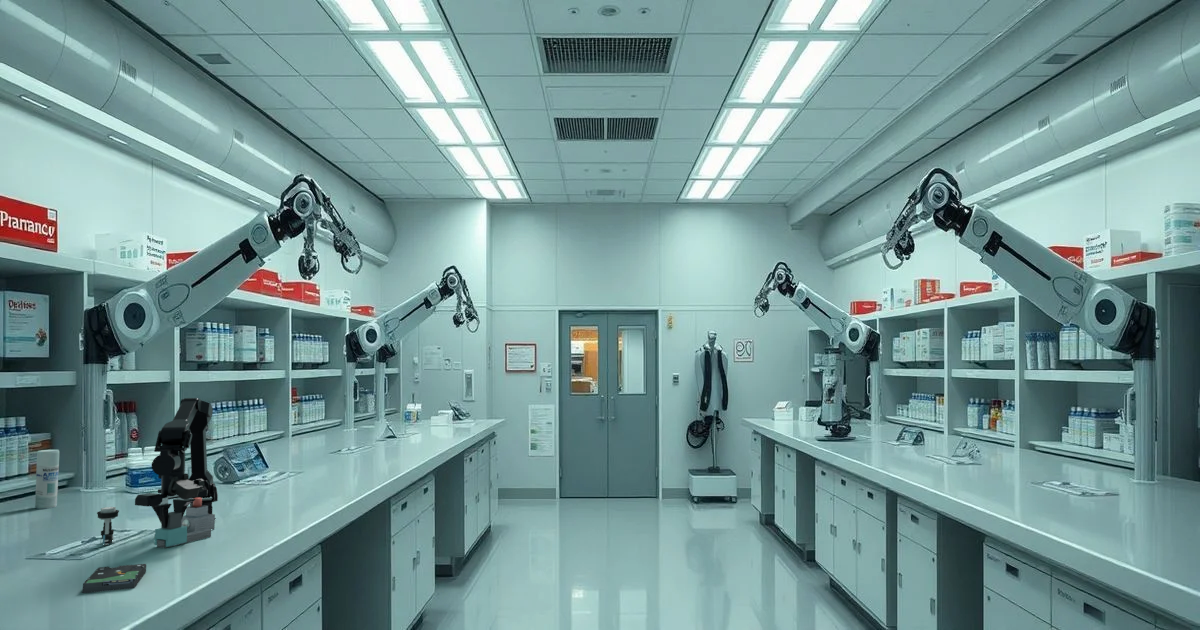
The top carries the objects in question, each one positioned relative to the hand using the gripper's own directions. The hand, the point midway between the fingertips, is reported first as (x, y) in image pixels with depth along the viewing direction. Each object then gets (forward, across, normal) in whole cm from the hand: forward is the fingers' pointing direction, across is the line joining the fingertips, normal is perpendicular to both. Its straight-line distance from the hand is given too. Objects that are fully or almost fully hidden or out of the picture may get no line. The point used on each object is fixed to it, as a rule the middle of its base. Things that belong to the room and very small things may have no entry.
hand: (171, 526), depth 214 cm
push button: (+5, -6, +18) cm, 20 cm away
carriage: (+5, 0, 0) cm, 5 cm away
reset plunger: (-2, +16, +10) cm, 19 cm away
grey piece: (+5, +16, +10) cm, 20 cm away
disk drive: (+6, -30, -21) cm, 37 cm away
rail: (+5, +4, 0) cm, 7 cm away
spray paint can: (+5, +23, +93) cm, 96 cm away
